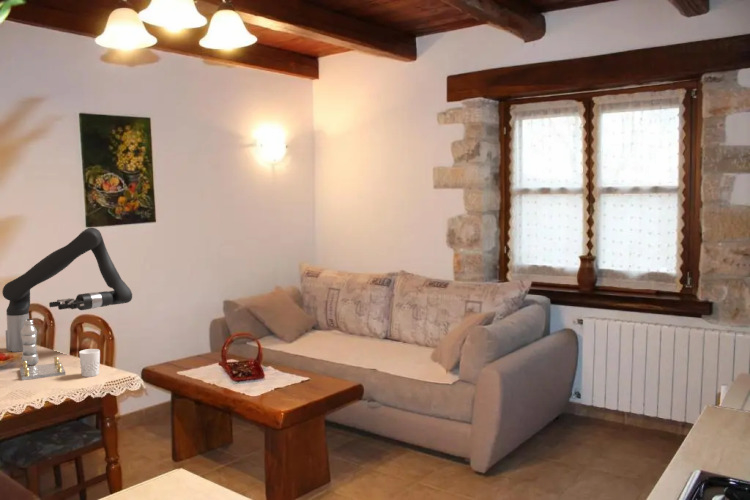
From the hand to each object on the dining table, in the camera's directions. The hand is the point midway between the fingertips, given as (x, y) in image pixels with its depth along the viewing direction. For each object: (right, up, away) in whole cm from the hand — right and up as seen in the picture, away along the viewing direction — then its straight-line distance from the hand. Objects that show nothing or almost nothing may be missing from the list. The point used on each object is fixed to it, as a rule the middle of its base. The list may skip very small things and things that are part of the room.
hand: (54, 306), depth 292 cm
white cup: (+24, -27, -19) cm, 41 cm away
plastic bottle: (-7, -25, -6) cm, 27 cm away
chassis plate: (+3, -26, -17) cm, 32 cm away
